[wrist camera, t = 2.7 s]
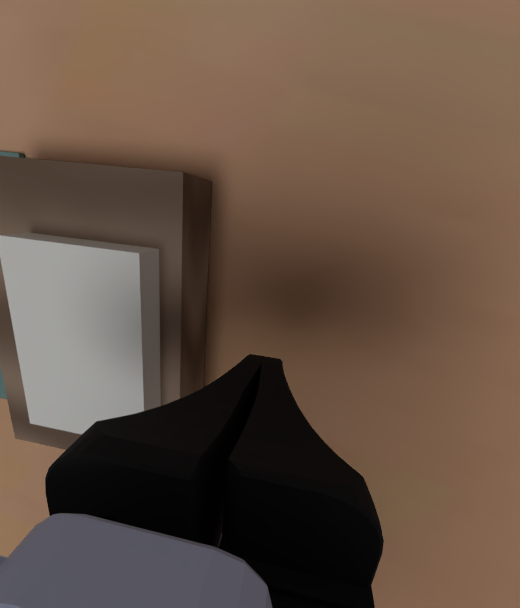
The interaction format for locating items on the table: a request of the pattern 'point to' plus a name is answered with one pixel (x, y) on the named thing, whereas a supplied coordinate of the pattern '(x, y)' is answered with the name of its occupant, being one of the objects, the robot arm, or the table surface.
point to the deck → (122, 230)
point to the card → (83, 327)
